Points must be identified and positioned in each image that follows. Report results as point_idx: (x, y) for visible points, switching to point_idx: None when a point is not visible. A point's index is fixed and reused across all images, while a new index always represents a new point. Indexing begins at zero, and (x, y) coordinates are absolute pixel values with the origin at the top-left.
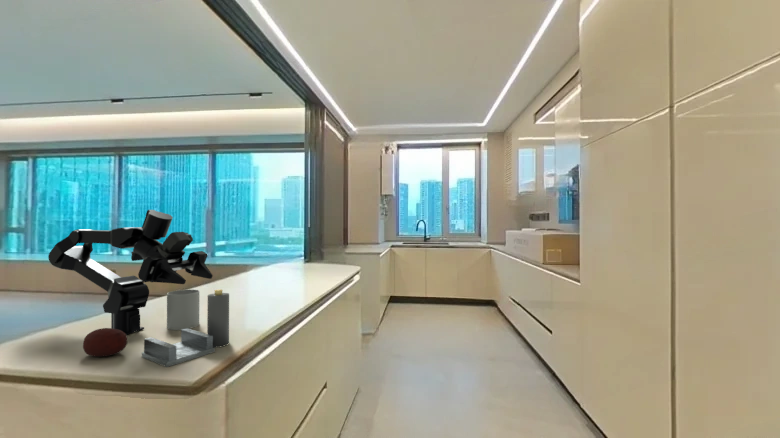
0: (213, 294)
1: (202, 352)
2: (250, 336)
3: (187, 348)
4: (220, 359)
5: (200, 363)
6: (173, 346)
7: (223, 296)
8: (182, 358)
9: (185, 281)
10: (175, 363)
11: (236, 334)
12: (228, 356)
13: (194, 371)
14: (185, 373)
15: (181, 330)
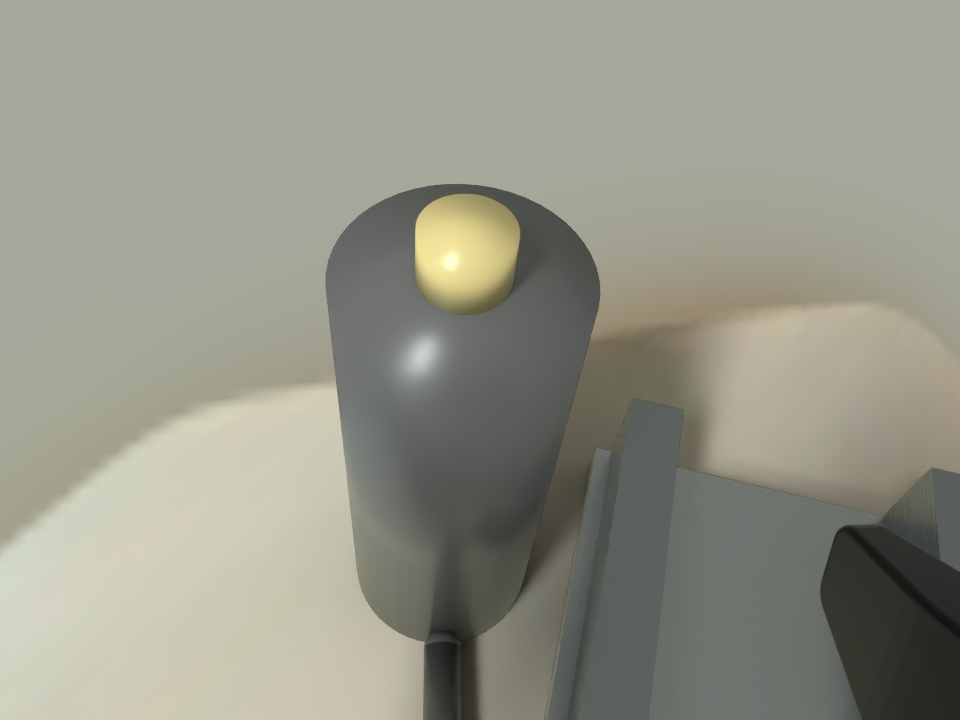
0: (471, 340)
1: (690, 473)
2: (199, 450)
3: (704, 625)
4: (670, 350)
5: (773, 408)
6: (951, 476)
7: (506, 195)
8: (838, 507)
9: (843, 538)
10: None
11: (160, 595)
12: (612, 340)
13: (861, 360)
14: (906, 382)
15: None
